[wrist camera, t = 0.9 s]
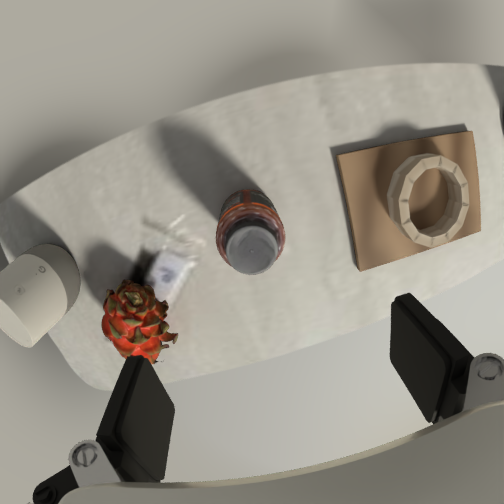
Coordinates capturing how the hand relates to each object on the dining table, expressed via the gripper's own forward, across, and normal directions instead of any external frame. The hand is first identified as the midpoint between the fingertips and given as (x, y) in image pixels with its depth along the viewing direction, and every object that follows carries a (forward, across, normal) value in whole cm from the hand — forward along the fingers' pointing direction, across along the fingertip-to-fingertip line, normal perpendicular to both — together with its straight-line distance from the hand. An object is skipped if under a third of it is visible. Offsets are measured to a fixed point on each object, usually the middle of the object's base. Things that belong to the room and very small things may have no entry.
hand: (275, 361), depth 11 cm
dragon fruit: (+25, +16, +9) cm, 31 cm away
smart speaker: (+25, +27, +1) cm, 37 cm away
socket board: (+24, -21, +2) cm, 32 cm away
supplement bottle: (+25, 0, 0) cm, 25 cm away
